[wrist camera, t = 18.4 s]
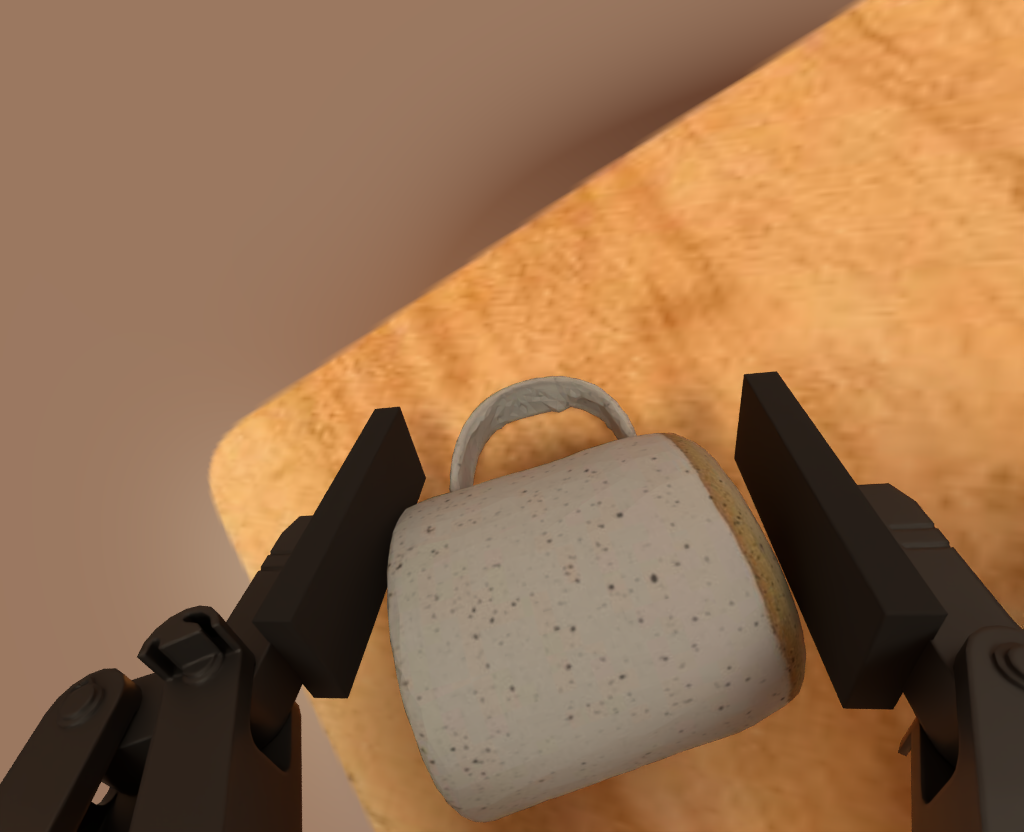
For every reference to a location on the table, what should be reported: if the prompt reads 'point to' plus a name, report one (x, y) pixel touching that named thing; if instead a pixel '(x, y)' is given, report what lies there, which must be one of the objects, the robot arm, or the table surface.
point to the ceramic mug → (582, 611)
